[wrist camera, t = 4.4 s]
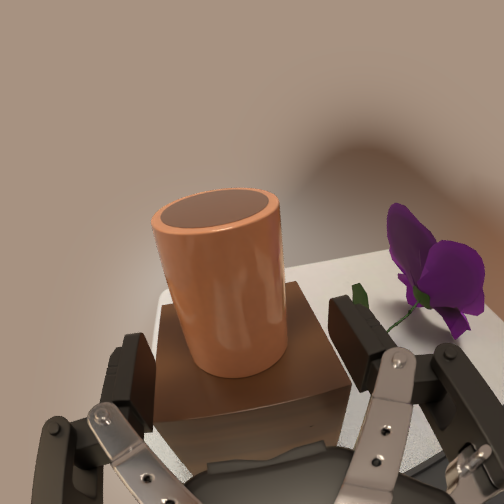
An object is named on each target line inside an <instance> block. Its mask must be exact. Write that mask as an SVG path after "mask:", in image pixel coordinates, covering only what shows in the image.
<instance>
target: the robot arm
mask: <svg viewBox="0 0 504 504" xmlns="http://www.w3.org/2000/svg"><path fill="white" fill-rule="evenodd" d="M328 331H329V335H330V338H331V340H332V342H333V344H334V346H335V347H336V349H337V351H338V353H339V355H340V357H341V358H342V360H343V362H344V364H345V366H346V368H347V370H348V372H349V373H350V375H351V377H352V379H353V381H354V383H355V385H356V387H357V388H358V390H359V392H360V393H361V392H364V391H367V390H369V392H370V394H371V397H370V400H369V403H368V407H367V410H366V413H365V416H364V420H363V423H362V426H361V429H360V432H359V435H358V437H357V440H356V443H355V446H354V448H353V450H352V449H349V448H345V447H339V446H326V445H325V443H324V440H321V441H317V442H314V443H310V444H306V445H302V446H299V447H295V448H293V449H291V450H289V451H287V452H285V453H283V454H280V455H278V456H276V457H274V458H272V459H269V460H240V459H233V460H226V461H219V462H210V463H207V470H205V471H203V472H201V473H198V474H196V475H195V476H193V477H192V478H190V479H189V480H188V481H186V482H185V483H184V484H183V483H182V482H181V481H180V480H179V479H178V478H177V477H176V476H175V475H174V474H173V473H172V472H171V471H170V470H169V469H168V468H167V467H166V466H165V464H164V463H163V462H162V461H161V460H160V459H159V458H158V457H157V456H156V454H155V453H154V452H153V451H152V450H151V449H150V448H149V446H148V445H147V444H146V443H145V442H144V433H149V432H153V415H154V397H155V382H156V362H155V359H154V356H153V354H152V352H151V349H150V347H149V345H148V343H147V340H146V338H145V336H144V334H143V333H134V334H126V335H125V337H124V340H123V345H122V347H117V348H116V349H115V350H114V352H113V353H112V355H111V356H110V359H109V363H108V368H107V372H106V376H105V381H104V385H103V389H102V394H101V399H100V403H99V404H97V405H95V406H94V407H93V408H92V409H91V410H90V411H89V413H88V416H87V417H86V418H83V419H80V420H77V421H74V422H68V420H67V419H66V418H64V417H62V416H54V417H52V418H50V419H49V420H47V421H46V423H45V424H44V426H43V428H42V433H41V438H40V443H39V448H38V454H37V460H36V466H35V473H34V481H33V489H32V500H31V504H103V466H104V465H106V464H109V463H110V464H111V466H112V468H113V469H114V471H115V472H116V474H117V475H118V477H119V478H120V479H121V481H122V482H123V483H124V485H125V486H126V487H127V489H128V490H129V491H130V493H131V494H132V495H133V496H134V498H135V499H136V500H137V501H138V503H139V504H484V503H486V502H487V501H489V500H491V499H492V498H494V497H495V496H497V495H499V494H500V493H502V492H503V491H504V408H503V406H502V405H501V403H500V402H499V400H498V399H497V397H496V396H495V394H494V393H493V391H492V390H491V389H490V387H489V386H488V384H487V383H486V381H485V380H484V379H483V377H482V376H481V375H480V373H479V372H478V370H477V369H476V368H475V366H474V365H473V364H472V362H471V361H470V360H469V358H468V357H467V356H466V355H465V353H464V352H463V351H462V349H461V348H460V347H458V346H457V345H455V344H452V343H443V344H440V345H438V346H437V347H436V349H435V351H434V353H433V354H426V355H414V354H413V353H412V352H411V351H409V350H408V349H405V348H402V347H397V345H396V344H395V343H394V341H393V340H392V339H391V337H390V336H389V334H388V333H387V332H386V330H385V329H384V328H383V326H382V325H380V322H379V321H378V320H377V319H376V318H375V316H374V315H373V313H372V312H371V311H370V309H368V308H367V307H365V306H363V305H362V304H360V303H359V304H356V305H355V304H354V303H353V302H352V300H351V299H350V298H349V296H348V295H344V296H339V297H335V298H331V299H330V300H329V313H328ZM413 404H419V406H420V407H421V409H422V411H423V413H424V415H425V417H426V418H427V420H428V422H429V424H430V426H431V428H432V430H433V432H434V434H435V436H436V437H437V439H438V441H439V443H440V445H441V447H442V449H443V451H444V453H445V455H446V457H447V459H448V461H449V463H450V464H449V465H448V467H447V469H446V472H445V478H446V483H447V490H446V492H445V491H443V490H441V489H439V488H436V487H434V486H431V485H429V484H426V483H424V482H421V481H419V480H417V479H414V478H412V477H410V476H407V475H405V474H403V473H401V472H399V469H400V465H401V461H402V457H403V453H404V449H405V445H406V441H407V436H408V432H409V427H410V422H411V416H412V411H413Z"/></svg>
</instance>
